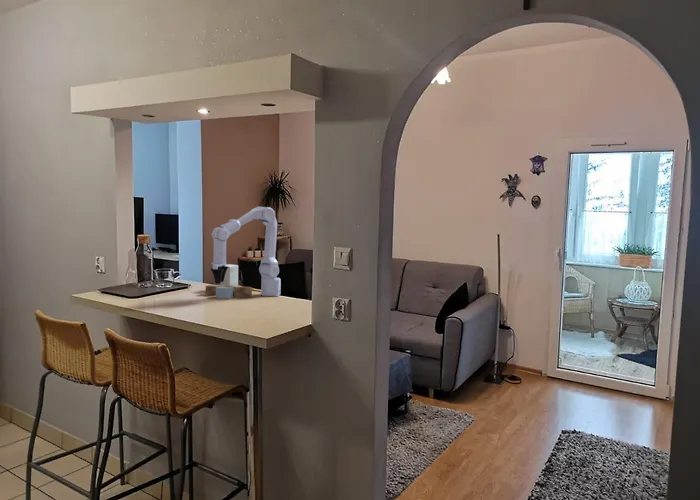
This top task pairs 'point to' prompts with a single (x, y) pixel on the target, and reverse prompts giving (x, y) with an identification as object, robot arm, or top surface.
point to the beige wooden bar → (237, 290)
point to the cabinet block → (224, 292)
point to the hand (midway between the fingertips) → (219, 282)
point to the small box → (231, 276)
